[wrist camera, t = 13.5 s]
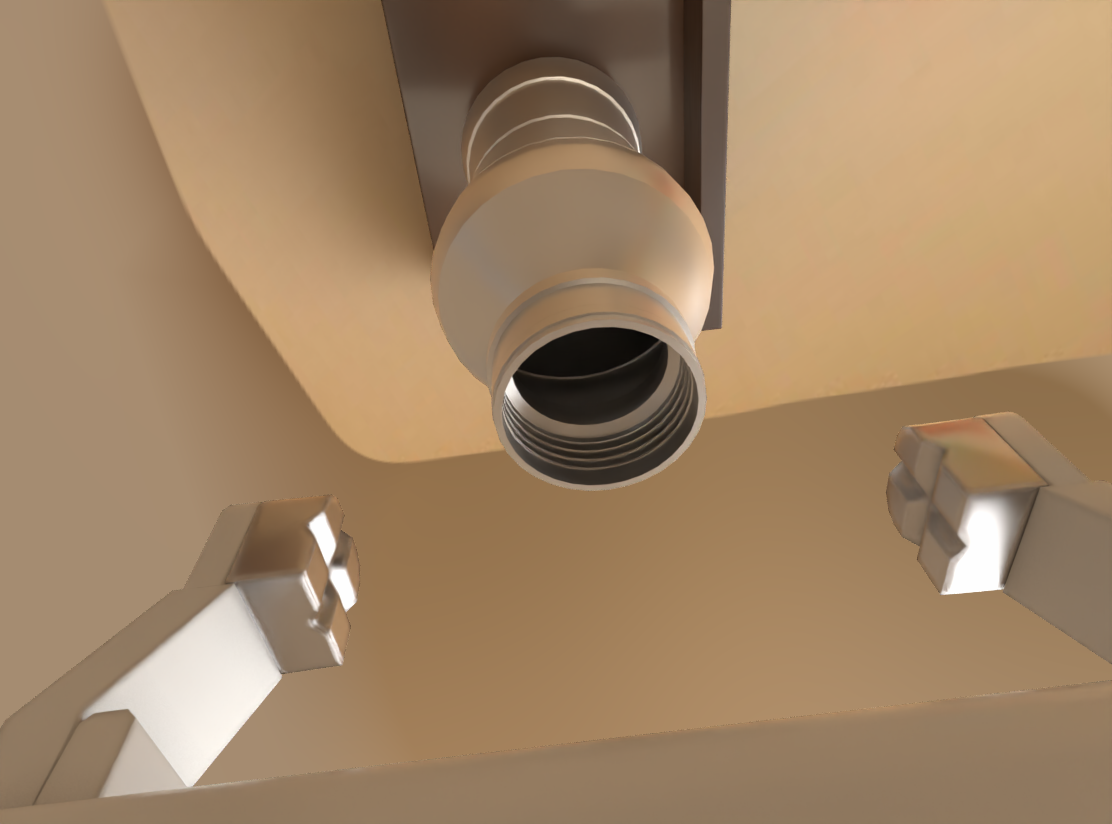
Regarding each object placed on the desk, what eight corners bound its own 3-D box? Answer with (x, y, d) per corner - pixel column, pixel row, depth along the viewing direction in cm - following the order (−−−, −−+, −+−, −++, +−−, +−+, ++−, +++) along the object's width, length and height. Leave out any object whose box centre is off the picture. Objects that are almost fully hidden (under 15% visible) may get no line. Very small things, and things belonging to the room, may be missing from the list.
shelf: (457, 278, 38) (445, 361, 31) (387, -82, 30) (346, -88, 22) (680, 251, 38) (722, 328, 31) (677, -119, 29) (735, -137, 22)
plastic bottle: (635, 204, 31) (786, 526, 14) (478, 224, 31) (444, 567, 14) (626, 35, 27) (816, 199, 10) (448, 59, 27) (356, 259, 11)
